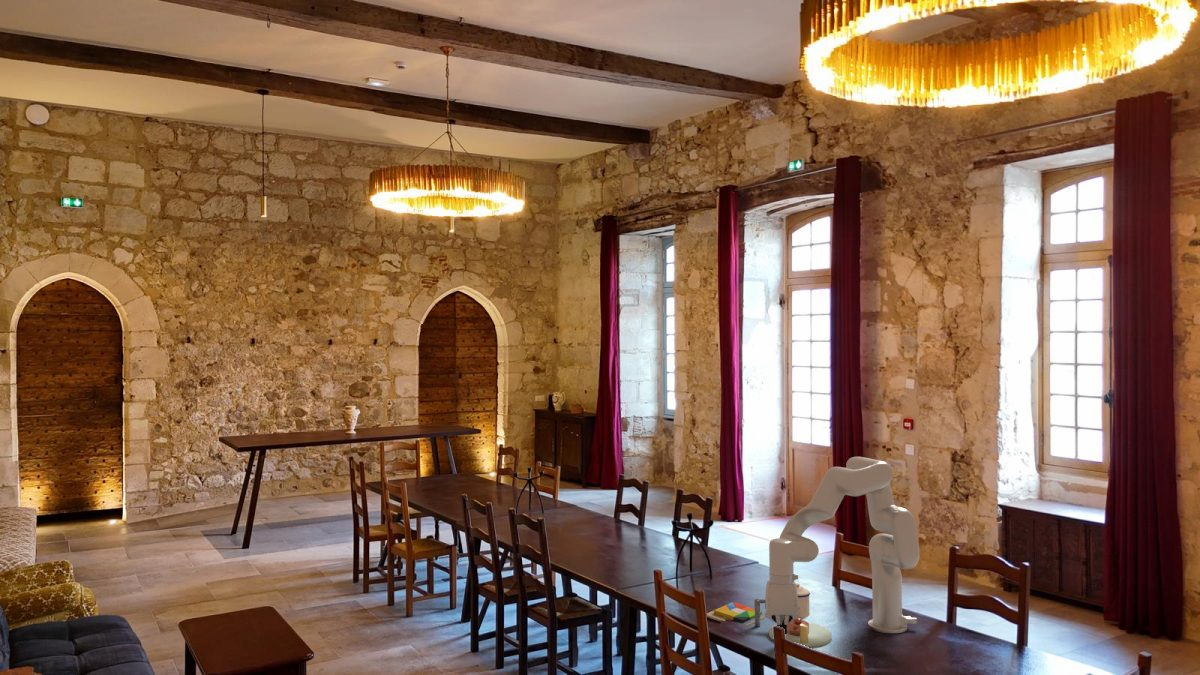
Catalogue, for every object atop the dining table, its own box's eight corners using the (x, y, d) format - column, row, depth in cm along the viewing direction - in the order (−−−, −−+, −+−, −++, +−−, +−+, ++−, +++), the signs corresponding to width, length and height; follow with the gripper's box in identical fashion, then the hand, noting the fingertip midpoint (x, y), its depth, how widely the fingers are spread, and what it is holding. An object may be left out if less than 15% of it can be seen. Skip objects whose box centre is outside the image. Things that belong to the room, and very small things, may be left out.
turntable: (826, 626, 292) (825, 607, 292) (837, 648, 271) (836, 628, 271) (766, 625, 293) (765, 606, 293) (772, 647, 273) (772, 626, 273)
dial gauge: (785, 627, 294) (785, 594, 294) (787, 632, 289) (787, 598, 289) (749, 626, 295) (749, 593, 295) (750, 631, 290) (750, 598, 290)
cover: (805, 628, 286) (805, 614, 286) (811, 636, 279) (811, 621, 279) (784, 628, 286) (784, 615, 286) (789, 636, 279) (789, 622, 279)
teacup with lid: (797, 610, 311) (796, 578, 311) (815, 617, 304) (815, 584, 304) (772, 616, 305) (772, 584, 305) (790, 624, 297) (790, 590, 297)
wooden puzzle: (747, 631, 292) (747, 621, 292) (700, 619, 305) (700, 609, 305) (773, 618, 305) (773, 608, 305) (727, 607, 318) (727, 598, 318)
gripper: (803, 575, 277) (804, 632, 277) (756, 575, 278) (757, 631, 278) (807, 582, 270) (807, 640, 270) (758, 581, 271) (759, 639, 271)
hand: (782, 636), depth 274 cm, fingers closed
